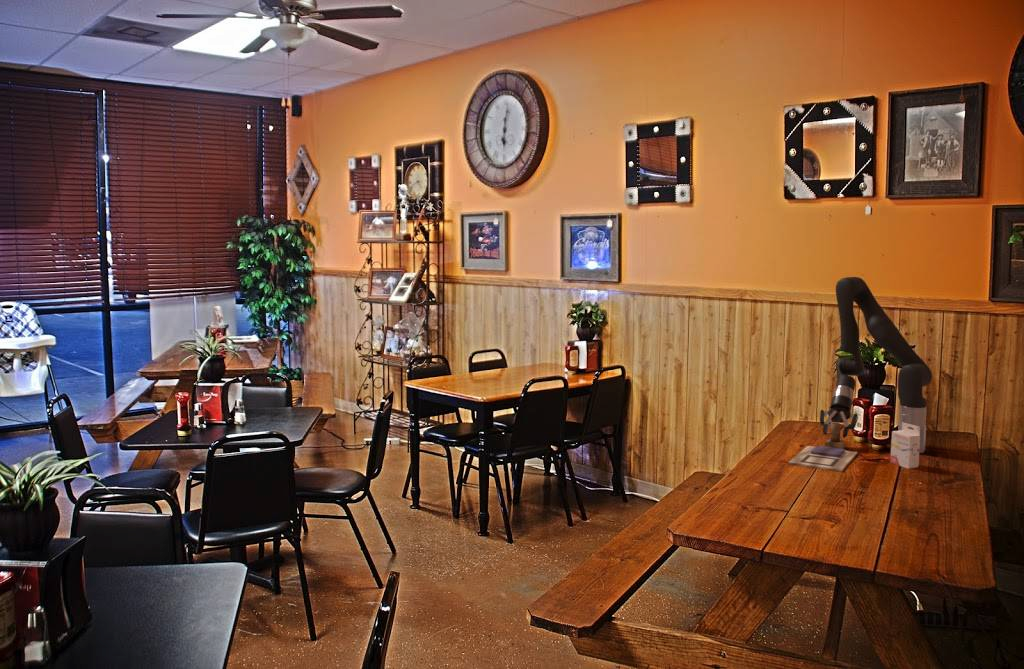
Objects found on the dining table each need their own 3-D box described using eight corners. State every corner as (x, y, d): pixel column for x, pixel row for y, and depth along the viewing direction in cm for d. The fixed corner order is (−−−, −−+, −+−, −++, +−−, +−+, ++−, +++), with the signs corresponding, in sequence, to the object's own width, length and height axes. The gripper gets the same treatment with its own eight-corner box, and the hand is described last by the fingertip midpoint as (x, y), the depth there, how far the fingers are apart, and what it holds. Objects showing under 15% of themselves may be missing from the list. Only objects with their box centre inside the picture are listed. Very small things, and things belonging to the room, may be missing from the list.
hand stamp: (844, 447, 323) (845, 423, 322) (841, 451, 318) (842, 426, 317) (828, 445, 326) (829, 422, 325) (824, 448, 321) (825, 424, 320)
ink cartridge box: (889, 462, 301) (891, 422, 299) (899, 461, 303) (902, 421, 301) (908, 469, 293) (910, 427, 291) (919, 467, 295) (921, 426, 293)
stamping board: (857, 454, 313) (857, 449, 313) (841, 471, 289) (841, 466, 289) (807, 447, 323) (807, 443, 322) (788, 464, 299) (788, 459, 299)
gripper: (822, 392, 330) (813, 427, 321) (860, 396, 322) (853, 432, 313) (824, 403, 335) (816, 438, 326) (862, 407, 327) (855, 443, 319)
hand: (834, 435), depth 320 cm, fingers open, 6 cm apart
